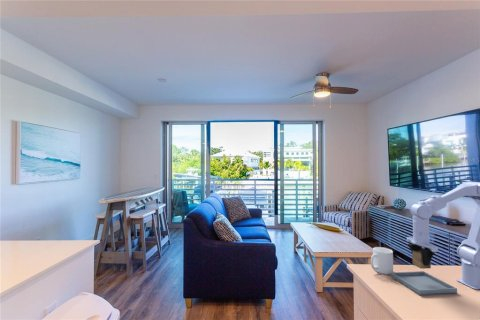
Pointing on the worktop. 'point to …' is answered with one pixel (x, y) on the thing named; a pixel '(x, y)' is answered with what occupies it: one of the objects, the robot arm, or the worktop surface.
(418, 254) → the block
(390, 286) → the worktop surface
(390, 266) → the cup
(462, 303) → the worktop surface
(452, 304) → the worktop surface
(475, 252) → the robot arm
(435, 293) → the tray
